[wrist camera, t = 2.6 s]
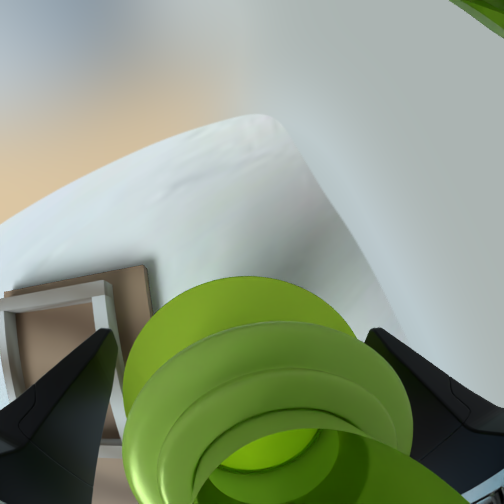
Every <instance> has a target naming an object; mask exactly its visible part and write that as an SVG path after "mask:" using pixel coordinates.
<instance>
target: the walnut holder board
mask: <svg viewBox="0 0 504 504" xmlns="http://www.w3.org/2000/svg"><path fill="white" fill-rule="evenodd" d="M152 316H153V310H152V303H151V296H150V289H149V282H148V274H147V268H146V267H145V266H144V265H140V266H134V267H129V268H124V269H119V270H113V271H108V272H103V273H98V274H93V275H88V276H82V277H77V278H72V279H67V280H62V281H57V282H52V283H47V284H42V285H37V286H32V287H27V288H22V289H17V290H12V291H7V292H4V298H2V299H0V355H1V362H2V368H3V374H4V379H5V384H6V389H7V393H8V398H9V402H10V403H11V402H12V401H14V400H15V399H16V398H18V397H19V396H20V395H21V394H22V393H24V392H25V391H26V390H27V389H28V388H29V387H31V386H32V385H33V384H35V382H36V381H38V380H39V379H40V378H41V377H42V376H43V375H44V374H46V373H47V372H48V371H49V370H50V369H51V368H53V367H54V366H55V365H56V364H57V363H59V362H60V361H61V360H62V359H63V358H64V357H66V356H67V355H68V354H69V353H70V352H72V351H73V350H74V349H75V348H76V347H78V346H79V345H80V344H81V343H82V342H84V341H85V340H86V339H87V338H89V337H90V336H91V335H92V334H93V333H95V332H96V331H97V330H98V329H100V328H110V329H112V331H113V333H114V336H115V339H116V342H117V345H118V355H117V361H116V368H115V375H114V382H113V388H112V393H111V397H110V401H109V405H108V409H107V414H106V418H105V423H104V428H103V432H102V437H101V443H100V448H99V454H98V459H97V466H96V472H95V479H94V486H93V496H92V504H139V503H138V501H137V500H136V498H135V496H134V495H133V493H132V491H131V488H130V486H129V484H128V481H127V478H126V475H125V471H124V466H123V459H122V440H123V433H124V428H125V424H126V420H127V418H126V415H125V410H124V404H123V377H124V371H125V366H126V362H127V359H128V356H129V353H130V351H131V348H132V346H133V344H134V342H135V340H136V338H137V336H138V335H139V333H140V332H141V330H142V329H143V327H144V326H145V325H146V323H147V322H148V321H149V320H150V319H151V317H152Z"/></svg>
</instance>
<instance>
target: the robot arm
mask: <svg viewBox="0 0 504 504" xmlns="http://www.w3.org/2000/svg"><path fill="white" fill-rule="evenodd" d="M364 343H365V344H367V345H368V346H369V347H371V348H372V349H374V350H375V351H376V352H377V353H379V354H380V355H381V356H382V357H383V358H384V359H385V360H386V361H387V362H388V363H389V364H390V366H391V367H392V368H393V369H394V371H395V372H396V374H397V375H398V377H399V378H400V380H401V382H402V384H403V386H404V388H405V390H406V393H407V395H408V398H409V402H410V405H411V410H412V417H413V440H412V447H411V452H410V456H409V457H411V458H412V459H414V460H416V461H417V462H419V463H420V464H422V465H423V466H425V467H426V468H428V469H429V470H430V471H432V472H433V473H434V474H436V475H437V476H438V477H440V478H441V479H442V480H444V481H445V482H446V483H447V484H449V485H450V486H451V487H452V488H453V489H454V490H456V491H457V492H458V493H459V494H460V495H461V496H463V497H464V498H465V499H466V500H467V501H468V502H469V503H470V504H504V408H501V407H498V406H496V405H494V404H492V403H491V402H489V401H487V400H485V399H484V398H482V397H481V396H479V395H477V394H475V393H474V392H472V391H471V390H469V389H467V388H466V387H464V386H463V385H461V384H460V383H459V382H457V381H456V380H454V379H453V378H452V377H449V376H448V375H447V374H446V373H445V372H443V371H442V370H440V369H439V368H438V367H436V366H434V365H433V364H432V363H430V362H429V361H428V360H426V359H425V358H424V357H422V356H421V355H419V354H418V353H416V352H415V351H414V350H412V349H411V348H410V347H408V346H407V345H405V344H404V343H402V342H401V341H400V340H398V339H397V338H395V337H394V336H393V335H391V334H390V333H388V332H387V331H385V330H384V329H383V328H372V329H370V331H369V333H368V335H367V338H366V340H365V342H364ZM117 355H118V345H117V342H116V339H115V336H114V333H113V331H112V329H110V328H100V329H98V330H97V331H96V332H95V333H93V334H92V335H91V336H90V337H89V338H87V339H86V340H85V341H84V342H82V343H81V344H80V345H79V346H78V347H76V348H75V349H74V350H73V351H72V352H70V353H69V354H68V355H67V356H66V357H64V358H63V359H62V360H61V361H60V362H59V363H57V364H56V365H55V366H54V367H53V368H51V369H50V370H49V371H48V372H47V373H46V374H44V375H43V376H42V377H41V378H40V379H39V380H38V381H36V382H35V384H33V385H32V386H31V387H29V388H28V389H27V390H26V391H25V392H24V393H22V394H21V395H20V396H19V397H18V398H16V399H15V400H14V401H12V402H11V403H10V404H8V405H7V406H6V407H4V408H3V409H2V410H0V504H92V496H93V486H94V479H95V472H96V466H97V459H98V454H99V448H100V443H101V437H102V432H103V428H104V423H105V418H106V414H107V409H108V405H109V401H110V397H111V393H112V388H113V382H114V375H115V368H116V361H117Z"/></svg>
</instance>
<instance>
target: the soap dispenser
mask: <svg viewBox="0 0 504 504" xmlns="http://www.w3.org/2000/svg"><path fill="white" fill-rule="evenodd" d="M449 1H451V2H452V3H454V4H455V5H457V6H458V7H460V8H461V9H463V10H464V11H466V12H467V13H468V14H470V15H471V16H472V17H474V18H475V19H476V20H478V21H479V22H481V23H482V24H483V25H485V26H486V27H487V28H489V29H490V30H492V31H493V32H494V33H496V34H498V35H499V36H501V37H502V38H504V0H449ZM123 404H124V410H125V415H126V418H127V420H126V424H125V428H124V433H123V440H122V459H123V466H124V471H125V475H126V478H127V481H128V484H129V486H130V488H131V491H132V493H133V495H134V496H135V498H136V500H137V501H138V503H139V504H470V503H469V502H468V501H467V500H466V499H465V498H464V497H463V496H461V495H460V494H459V493H458V492H457V491H456V490H454V489H453V488H452V487H451V486H450V485H449V484H447V483H446V482H445V481H444V480H442V479H441V478H440V477H438V476H437V475H436V474H434V473H433V472H432V471H430V470H429V469H428V468H426V467H425V466H423V465H422V464H420V463H419V462H417V461H416V460H414V459H412V458H411V457H409V456H410V452H411V447H412V440H413V417H412V410H411V405H410V402H409V398H408V395H407V393H406V390H405V388H404V386H403V384H402V382H401V380H400V378H399V377H398V375H397V374H396V372H395V371H394V369H393V368H392V367H391V366H390V364H389V363H388V362H387V361H386V360H385V359H384V358H383V357H382V356H381V355H380V354H379V353H377V352H376V351H375V350H374V349H372V348H371V347H369V346H368V345H367V344H365V343H363V342H362V341H360V340H358V339H357V338H356V336H355V334H354V333H353V331H352V330H351V328H350V327H349V325H348V324H347V323H346V321H345V320H344V319H343V318H342V317H341V316H340V315H339V313H337V312H336V311H335V310H334V309H333V308H332V307H331V306H330V305H329V304H327V303H326V302H325V301H323V300H322V299H321V298H319V297H318V296H316V295H314V294H313V293H311V292H309V291H307V290H305V289H303V288H301V287H299V286H296V285H294V284H291V283H288V282H285V281H281V280H277V279H272V278H266V277H256V276H239V277H229V278H223V279H218V280H214V281H210V282H207V283H204V284H201V285H198V286H196V287H193V288H191V289H189V290H187V291H185V292H183V293H182V294H180V295H178V296H177V297H175V298H173V299H172V300H171V301H169V302H168V303H167V304H165V305H164V306H163V307H162V308H161V309H159V310H158V311H157V312H156V313H155V314H154V315H153V316H152V317H151V319H150V320H149V321H148V322H147V323H146V325H145V326H144V327H143V329H142V330H141V332H140V333H139V335H138V336H137V338H136V340H135V342H134V344H133V346H132V348H131V351H130V353H129V356H128V359H127V362H126V366H125V371H124V377H123Z"/></svg>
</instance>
